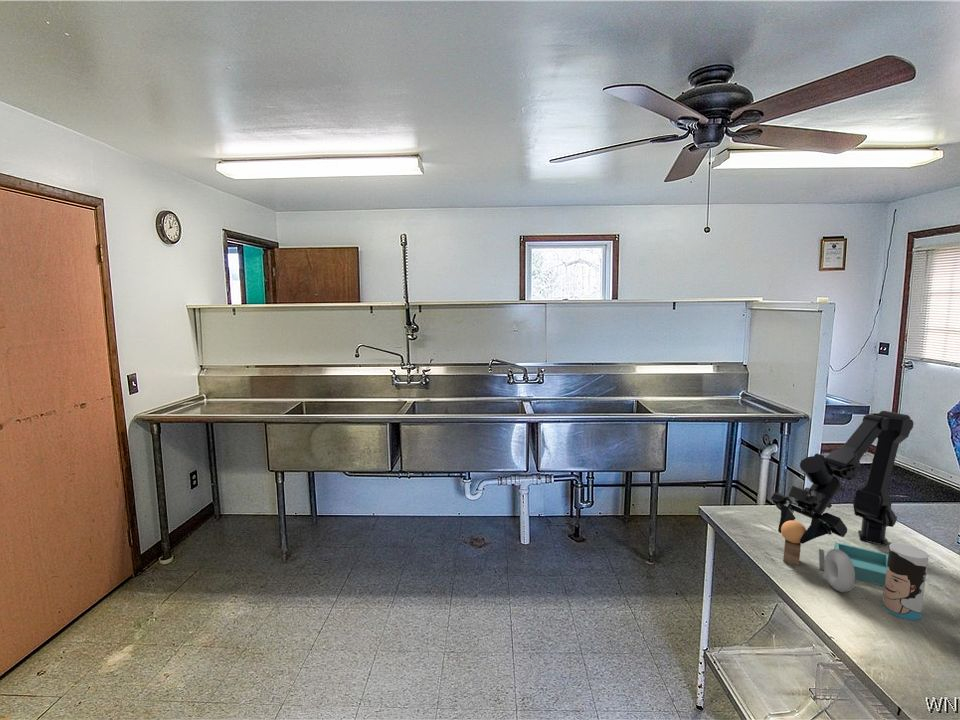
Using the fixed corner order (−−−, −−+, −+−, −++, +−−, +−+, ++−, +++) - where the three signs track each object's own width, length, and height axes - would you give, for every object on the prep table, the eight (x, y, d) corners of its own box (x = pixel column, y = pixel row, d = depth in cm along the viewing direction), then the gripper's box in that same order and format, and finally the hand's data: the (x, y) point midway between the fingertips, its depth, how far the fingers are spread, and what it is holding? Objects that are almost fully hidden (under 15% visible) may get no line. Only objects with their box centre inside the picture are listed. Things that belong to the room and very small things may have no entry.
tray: (833, 552, 138) (834, 541, 137) (888, 565, 131) (889, 554, 131) (835, 573, 127) (836, 561, 127) (894, 588, 120) (896, 576, 120)
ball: (780, 534, 137) (782, 514, 136) (806, 540, 133) (807, 520, 132) (779, 543, 132) (781, 522, 131) (805, 549, 128) (807, 528, 128)
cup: (884, 598, 116) (891, 540, 115) (922, 611, 112) (929, 550, 110) (880, 610, 112) (887, 550, 110) (919, 624, 107) (927, 561, 105)
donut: (856, 602, 115) (860, 563, 114) (840, 600, 116) (844, 561, 114) (834, 578, 125) (838, 542, 123) (819, 576, 125) (823, 541, 124)
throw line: (819, 549, 139) (819, 548, 139) (823, 550, 139) (823, 549, 139) (819, 569, 129) (819, 569, 129) (824, 571, 128) (824, 570, 128)
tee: (783, 556, 136) (785, 536, 135) (799, 559, 134) (800, 540, 133) (783, 561, 133) (785, 541, 132) (798, 565, 131) (800, 545, 130)
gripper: (777, 465, 140) (746, 507, 138) (844, 489, 123) (810, 536, 120) (794, 487, 144) (764, 528, 141) (861, 513, 127) (829, 560, 124)
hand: (789, 537), depth 132 cm, fingers closed on ball, 6 cm apart
